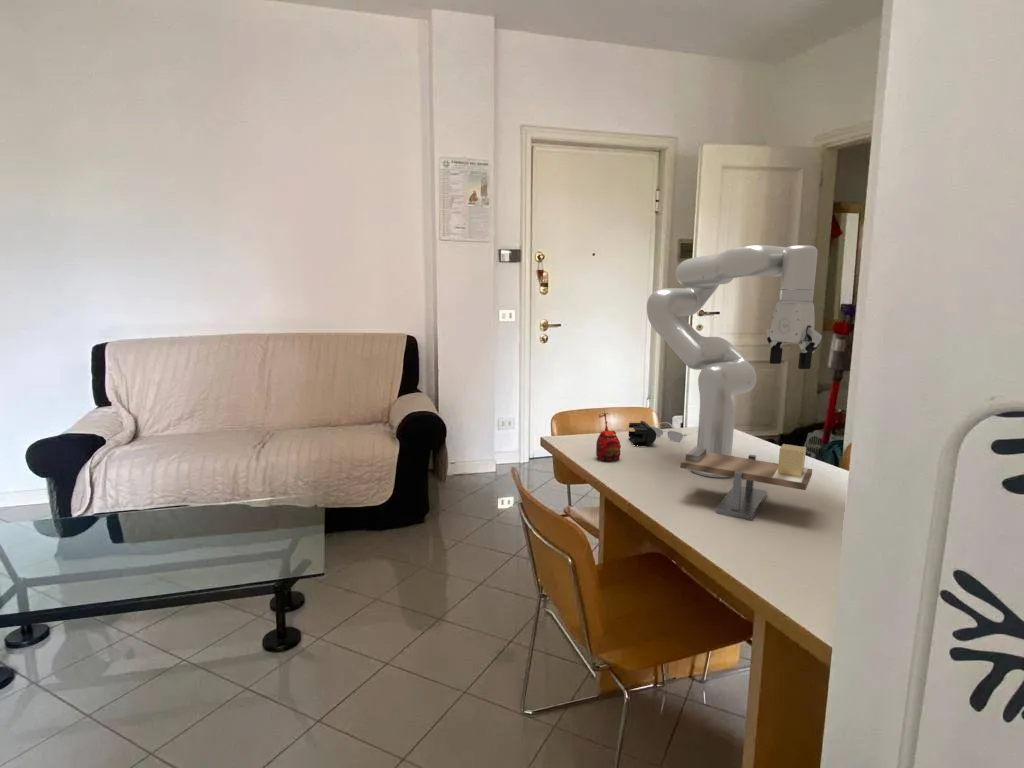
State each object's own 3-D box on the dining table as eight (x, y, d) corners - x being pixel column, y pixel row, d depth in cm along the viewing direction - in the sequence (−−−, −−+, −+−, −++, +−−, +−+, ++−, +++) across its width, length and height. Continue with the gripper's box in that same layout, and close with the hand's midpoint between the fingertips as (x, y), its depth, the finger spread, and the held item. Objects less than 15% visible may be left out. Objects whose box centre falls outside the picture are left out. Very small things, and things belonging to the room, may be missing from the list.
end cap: (655, 447, 197) (657, 427, 196) (634, 447, 197) (635, 427, 195) (648, 439, 207) (649, 420, 206) (627, 439, 206) (628, 420, 205)
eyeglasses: (645, 436, 213) (645, 425, 212) (671, 428, 226) (672, 418, 225) (684, 444, 202) (684, 433, 202) (709, 436, 215) (710, 425, 214)
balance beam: (679, 468, 147) (680, 456, 146) (695, 455, 159) (696, 444, 158) (805, 491, 132) (806, 478, 132) (812, 474, 144) (813, 462, 144)
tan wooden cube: (780, 468, 143) (783, 443, 142) (803, 471, 141) (806, 447, 140) (777, 473, 139) (779, 448, 138) (801, 477, 137) (803, 452, 136)
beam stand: (715, 512, 140) (719, 471, 139) (734, 489, 157) (737, 451, 155) (751, 520, 136) (755, 477, 135) (766, 495, 153) (770, 456, 151)
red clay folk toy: (603, 463, 178) (605, 414, 175) (590, 457, 184) (592, 409, 181) (624, 460, 181) (626, 412, 178) (611, 454, 187) (613, 407, 185)
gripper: (758, 296, 153) (753, 362, 156) (811, 298, 137) (803, 371, 140) (782, 296, 156) (776, 361, 158) (836, 298, 139) (828, 370, 142)
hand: (789, 366), depth 149 cm, fingers open, 9 cm apart
